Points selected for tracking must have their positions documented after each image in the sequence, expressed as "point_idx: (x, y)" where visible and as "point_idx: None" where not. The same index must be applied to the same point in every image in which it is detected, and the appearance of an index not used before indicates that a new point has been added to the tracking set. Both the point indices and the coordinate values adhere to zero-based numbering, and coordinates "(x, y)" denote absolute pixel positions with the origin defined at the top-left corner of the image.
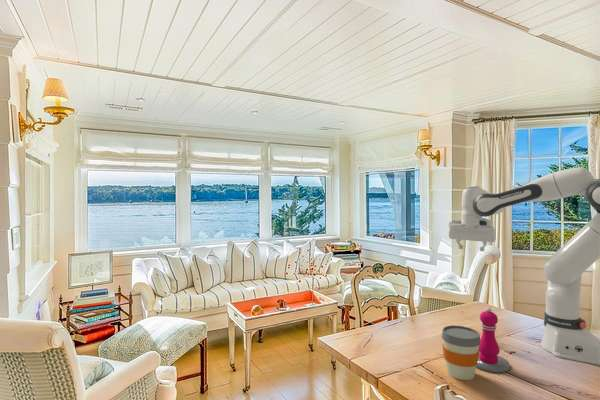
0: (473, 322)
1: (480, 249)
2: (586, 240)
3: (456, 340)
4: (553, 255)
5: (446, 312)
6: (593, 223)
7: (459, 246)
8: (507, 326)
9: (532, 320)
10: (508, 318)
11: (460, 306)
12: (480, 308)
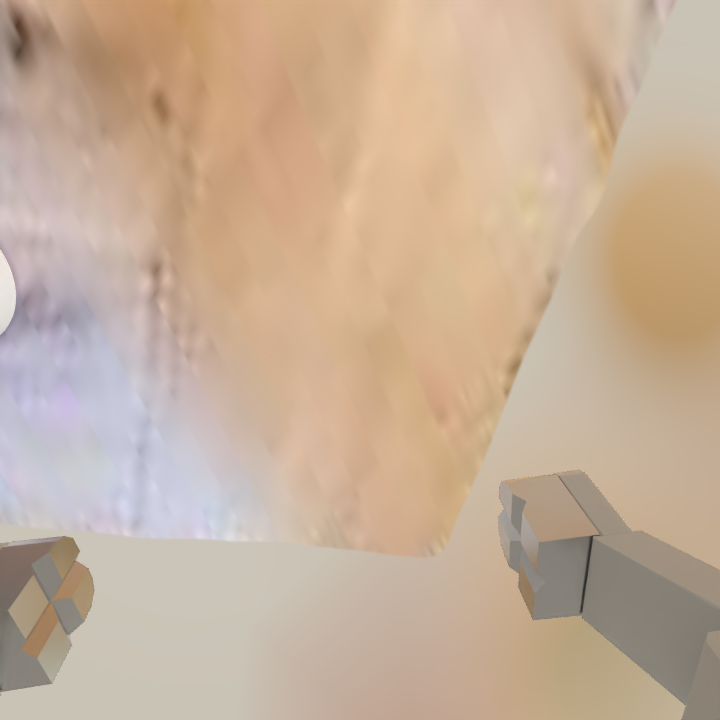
0: (340, 311)
1: (29, 563)
2: None
3: None
4: None
5: (492, 346)
6: None
7: (592, 507)
8: (213, 376)
9: (184, 515)
10: (258, 471)
11: (471, 468)
12: (395, 503)
